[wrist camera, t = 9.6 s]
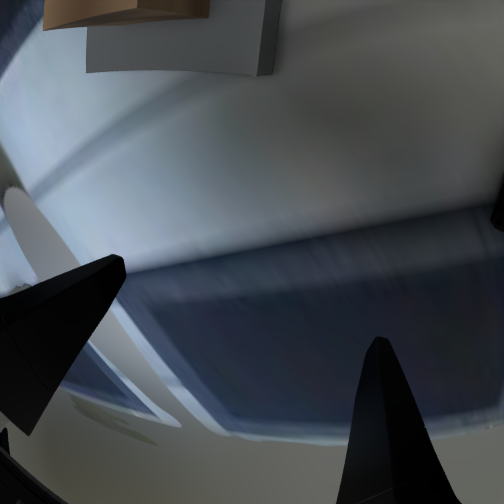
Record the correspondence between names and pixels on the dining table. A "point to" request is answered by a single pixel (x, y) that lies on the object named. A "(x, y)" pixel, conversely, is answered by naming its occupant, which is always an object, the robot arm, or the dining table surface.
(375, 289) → the dining table surface
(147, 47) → the slate slab
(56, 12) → the walnut cube
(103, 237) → the dining table surface
